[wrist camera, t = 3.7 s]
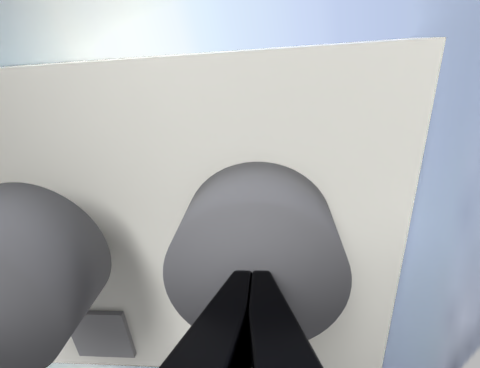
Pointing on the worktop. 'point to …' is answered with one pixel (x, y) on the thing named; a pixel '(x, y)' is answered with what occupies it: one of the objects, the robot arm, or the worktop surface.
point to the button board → (222, 156)
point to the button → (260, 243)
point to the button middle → (45, 272)
